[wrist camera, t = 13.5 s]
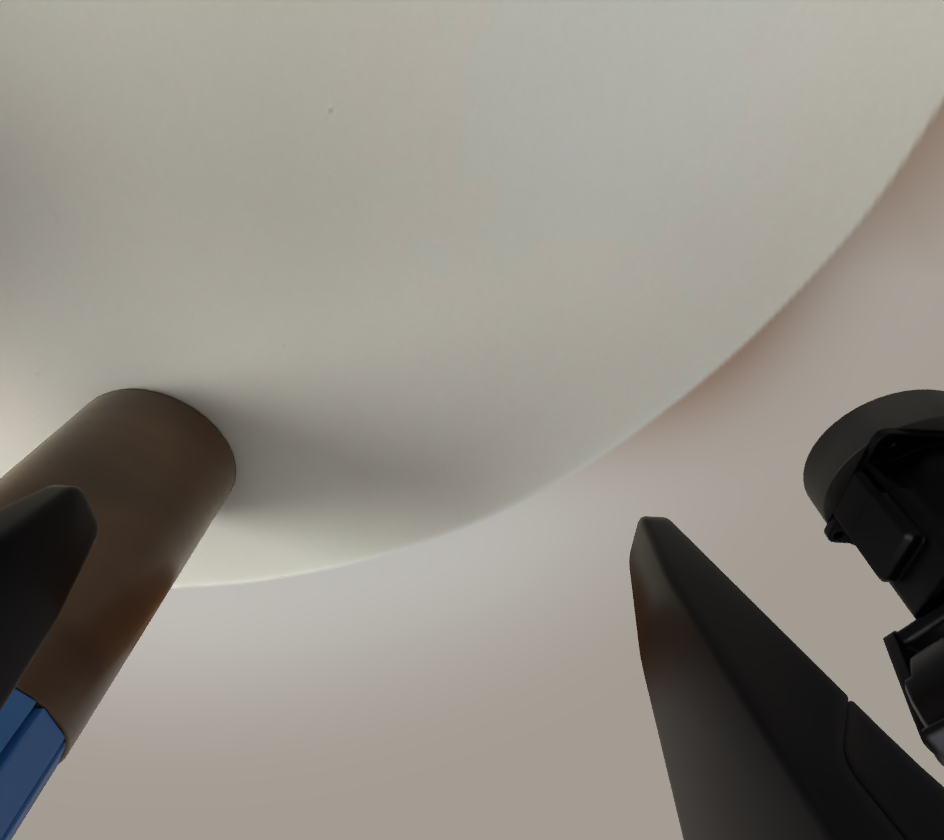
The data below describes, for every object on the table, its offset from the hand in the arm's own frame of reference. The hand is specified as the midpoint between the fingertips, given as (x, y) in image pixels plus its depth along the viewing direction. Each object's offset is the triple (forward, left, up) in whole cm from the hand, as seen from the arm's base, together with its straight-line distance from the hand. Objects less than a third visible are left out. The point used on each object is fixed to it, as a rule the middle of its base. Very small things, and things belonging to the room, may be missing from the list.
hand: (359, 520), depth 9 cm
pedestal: (+12, +8, -12) cm, 19 cm away
